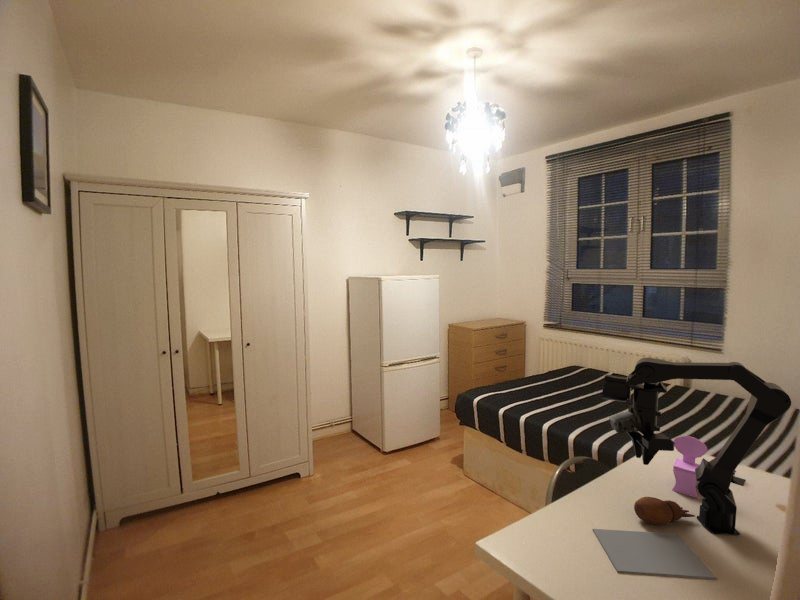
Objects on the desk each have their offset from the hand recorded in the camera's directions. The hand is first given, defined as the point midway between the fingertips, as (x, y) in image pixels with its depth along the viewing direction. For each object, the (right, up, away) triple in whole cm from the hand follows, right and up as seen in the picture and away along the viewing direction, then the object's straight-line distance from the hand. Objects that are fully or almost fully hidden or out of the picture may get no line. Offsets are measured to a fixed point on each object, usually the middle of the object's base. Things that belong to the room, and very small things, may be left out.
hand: (641, 461), depth 111 cm
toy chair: (+19, -12, +9) cm, 24 cm away
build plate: (+36, -12, +16) cm, 41 cm away
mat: (-9, -14, -18) cm, 24 cm away
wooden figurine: (-5, -10, -7) cm, 13 cm away
